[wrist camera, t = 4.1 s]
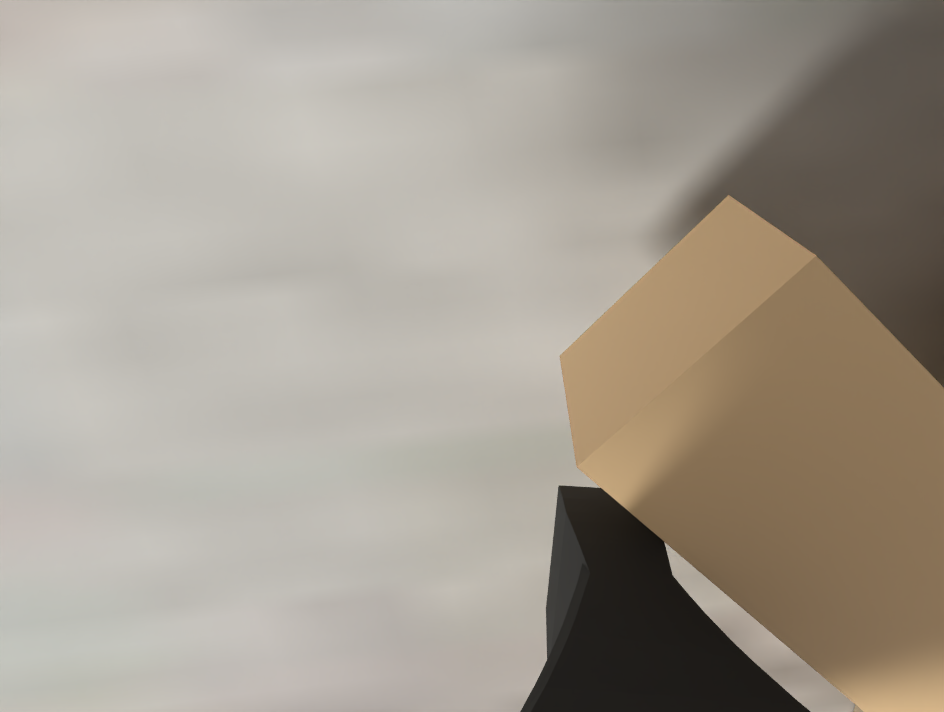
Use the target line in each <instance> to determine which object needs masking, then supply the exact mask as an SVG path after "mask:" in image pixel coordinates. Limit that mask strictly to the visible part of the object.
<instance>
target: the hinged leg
mask: <svg viewBox="0 0 944 712" xmlns="http://www.w3.org/2000/svg"><path fill="white" fill-rule="evenodd" d="M560 361H561V368H562V374H563V381H564V387H565V394H566V400H567V407H568V413H569V420H570V426H571V433H572V439H573V446H574V452H575V459H576V465H577V468H578V469H580V470H581V471H582V472H583V473H584V474H585V475H587V476H588V477H589V478H590V479H591V480H592V481H594V482H595V483H596V484H597V485H598V486H600V487H601V488H602V489H603V490H604V491H605V492H607V493H608V494H609V495H610V496H611V497H612V498H614V499H615V500H616V501H617V502H618V503H619V504H621V505H622V506H623V507H624V508H625V509H627V510H628V511H629V512H630V513H631V514H632V515H634V516H635V517H636V518H637V519H638V520H639V521H641V522H642V523H643V524H644V525H645V526H646V527H648V528H649V529H650V530H651V531H652V532H654V533H655V534H656V535H657V536H658V537H659V538H661V539H662V540H663V541H664V542H665V543H666V544H668V545H669V546H670V547H671V548H672V549H673V550H675V551H676V552H677V553H678V554H679V555H681V556H682V557H683V558H684V559H685V560H686V561H688V562H689V563H690V564H691V565H692V566H693V567H695V568H696V569H697V570H698V571H699V572H701V573H702V574H703V575H704V576H705V577H706V578H708V579H709V580H710V581H711V582H712V583H713V584H715V585H716V586H717V587H718V588H719V589H720V590H722V591H723V592H724V593H725V594H726V595H728V596H729V597H730V598H731V599H732V600H733V601H735V602H736V603H737V604H738V605H739V606H740V607H742V608H743V609H744V610H745V611H746V612H747V613H749V614H750V615H751V616H752V617H753V618H755V619H756V620H757V621H758V622H759V623H760V624H762V625H763V626H764V627H765V628H766V629H767V630H769V631H770V632H771V633H772V634H773V635H774V636H776V637H777V638H778V639H779V640H780V641H782V642H783V643H784V644H785V645H786V646H787V647H789V648H790V649H791V650H792V651H793V652H794V653H796V654H797V655H798V656H799V657H800V658H801V659H803V660H804V661H805V662H806V663H807V664H809V665H810V666H811V667H812V668H813V669H814V670H816V671H817V672H818V673H819V674H820V675H821V676H823V677H824V678H825V679H826V680H827V681H829V682H830V683H831V684H832V685H833V686H834V687H836V688H837V689H838V690H839V691H840V692H841V693H843V694H844V695H845V696H846V697H847V698H848V699H850V700H851V701H852V702H853V703H854V704H856V705H857V706H858V707H859V708H860V709H861V710H863V711H864V712H944V387H943V386H942V385H941V384H940V383H939V382H938V381H937V380H936V379H935V378H934V377H933V376H932V375H931V374H930V373H929V372H928V371H927V370H926V369H925V368H924V367H923V366H922V365H921V363H920V362H919V361H918V360H917V359H916V358H915V357H914V356H913V355H912V354H911V353H910V352H909V351H908V350H907V349H906V348H905V347H904V346H903V345H902V344H901V343H900V342H899V341H898V340H897V339H896V338H895V337H894V335H893V334H892V333H891V332H890V331H889V330H888V329H887V328H886V327H885V326H884V325H883V324H882V323H881V322H880V321H879V320H878V319H877V318H876V317H875V316H874V315H873V314H872V313H871V312H870V311H869V310H868V309H867V307H866V306H865V305H864V304H863V303H862V302H861V301H860V300H859V299H858V298H857V297H856V296H855V295H854V294H853V293H852V292H851V291H850V290H849V289H848V288H847V287H846V286H845V285H844V284H843V283H842V282H841V281H840V279H839V278H838V277H837V276H836V275H835V274H834V273H833V272H832V271H831V270H830V269H829V268H828V267H827V266H826V265H825V264H824V263H823V262H822V261H821V260H820V259H819V258H818V257H817V256H816V255H815V254H813V253H812V252H811V251H809V250H808V249H806V248H805V247H803V246H802V245H800V244H799V243H798V242H796V241H795V240H793V239H792V238H790V237H789V236H787V235H786V234H785V233H783V232H782V231H780V230H779V229H777V228H776V227H774V226H773V225H771V224H770V223H769V222H767V221H766V220H764V219H763V218H761V217H760V216H758V215H757V214H756V213H754V212H753V211H751V210H750V209H748V208H747V207H745V206H744V205H743V204H741V203H740V202H738V201H737V200H735V199H734V198H732V197H731V196H730V195H728V196H727V197H726V198H725V199H724V200H723V201H722V202H721V203H720V204H718V205H717V206H716V207H715V208H714V209H713V210H712V211H711V212H710V213H709V214H708V215H707V216H706V217H705V218H704V219H703V220H702V221H701V222H700V223H699V224H698V225H696V226H695V227H694V228H693V229H692V230H691V231H690V232H689V233H688V234H687V235H686V236H685V237H684V238H683V239H682V240H681V241H680V242H679V243H678V244H677V245H676V246H674V247H673V248H672V249H671V250H670V251H669V252H668V253H667V254H666V255H665V256H664V257H663V258H662V259H661V260H660V261H659V262H658V263H657V264H656V265H655V266H653V267H652V268H651V269H650V270H649V271H648V272H647V273H646V274H645V275H644V276H643V277H642V278H641V279H640V280H639V281H638V282H637V283H636V284H635V285H634V286H633V287H631V288H630V289H629V290H628V291H627V292H626V293H625V294H624V295H623V296H622V297H621V298H620V299H619V300H618V301H617V302H616V303H615V304H614V305H613V306H612V307H611V308H609V309H608V310H607V311H606V312H605V313H604V314H603V315H602V316H601V317H600V318H599V319H598V320H597V321H596V322H595V323H594V324H593V325H592V326H591V327H590V328H589V329H587V330H586V331H585V332H584V333H583V334H582V335H581V336H580V337H579V338H578V339H577V340H576V341H575V342H574V343H573V344H572V345H571V346H570V347H569V348H568V349H566V350H565V351H564V352H563V353H562V354H561V355H560Z"/></svg>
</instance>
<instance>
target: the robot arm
mask: <svg viewBox="0 0 944 712" xmlns="http://www.w3.org/2000/svg"><path fill="white" fill-rule="evenodd" d="M546 625H547V662H546V664H545V666H544V668H543V670H542V672H541V674H540V676H539V678H538V680H537V682H536V684H535V686H534V688H533V690H532V691H531V693H530V695H529V697H528V699H527V701H526V702H525V704H524V706H523V708H522V710H521V712H810V711H809V710H808V709H807V708H805V707H804V706H803V705H802V704H801V703H799V702H798V701H797V700H796V699H795V698H794V697H792V696H791V695H790V694H789V693H788V692H787V691H786V690H785V689H783V688H782V687H781V686H780V685H779V684H778V683H777V682H776V681H774V680H773V679H772V678H771V677H770V676H769V675H768V674H767V673H766V672H764V671H763V670H762V669H761V668H760V667H759V666H758V665H757V664H755V663H754V662H753V661H752V660H751V659H750V658H749V657H748V656H747V655H746V654H745V653H744V652H743V651H742V650H741V649H740V648H739V647H737V646H736V645H735V644H734V643H733V642H732V641H731V640H730V639H729V638H728V637H727V636H726V634H725V633H724V632H723V631H722V630H721V629H720V628H719V627H718V626H717V625H716V624H715V623H714V622H713V621H712V620H711V619H710V618H709V617H708V616H707V615H706V614H705V613H704V611H703V610H702V609H701V608H700V607H699V606H698V605H697V604H696V602H695V601H694V600H693V599H692V598H691V597H690V596H689V595H688V593H687V592H686V591H685V590H684V589H683V587H682V586H681V585H680V584H679V583H678V581H677V580H676V579H675V578H674V577H673V576H672V572H671V568H670V564H669V559H668V555H667V551H666V547H665V544H664V541H663V540H662V539H661V538H659V537H658V536H657V535H656V534H655V533H654V532H652V531H651V530H650V529H649V528H648V527H646V526H645V525H644V524H643V523H642V522H641V521H639V520H638V519H637V518H636V517H635V516H634V515H632V514H631V513H630V512H629V511H628V510H627V509H625V508H624V507H623V506H622V505H621V504H619V503H618V502H617V501H616V500H615V499H614V498H612V497H611V496H610V495H609V494H608V493H607V492H605V491H604V490H603V489H602V488H591V487H575V486H559V488H558V497H557V507H556V517H555V527H554V537H553V546H552V556H551V566H550V576H549V586H548V595H547V605H546Z"/></svg>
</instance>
